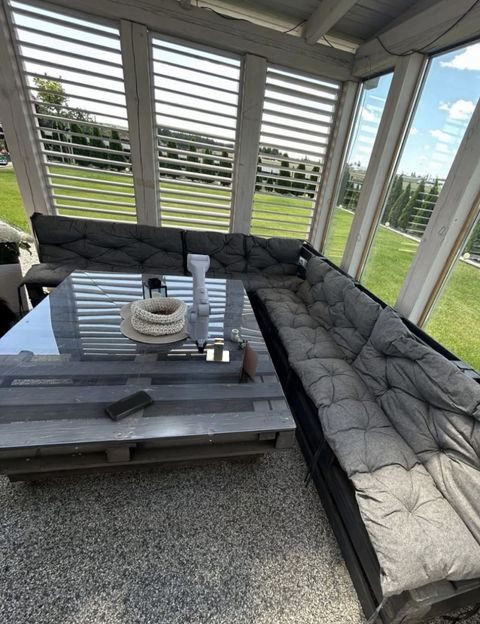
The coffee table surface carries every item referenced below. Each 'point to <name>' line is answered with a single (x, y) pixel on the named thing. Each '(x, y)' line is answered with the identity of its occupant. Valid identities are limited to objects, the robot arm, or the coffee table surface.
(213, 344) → the lever
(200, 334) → the robot arm
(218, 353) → the tap bracket
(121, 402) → the phone
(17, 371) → the coffee table surface
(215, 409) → the coffee table surface
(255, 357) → the greeting card
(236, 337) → the valve
